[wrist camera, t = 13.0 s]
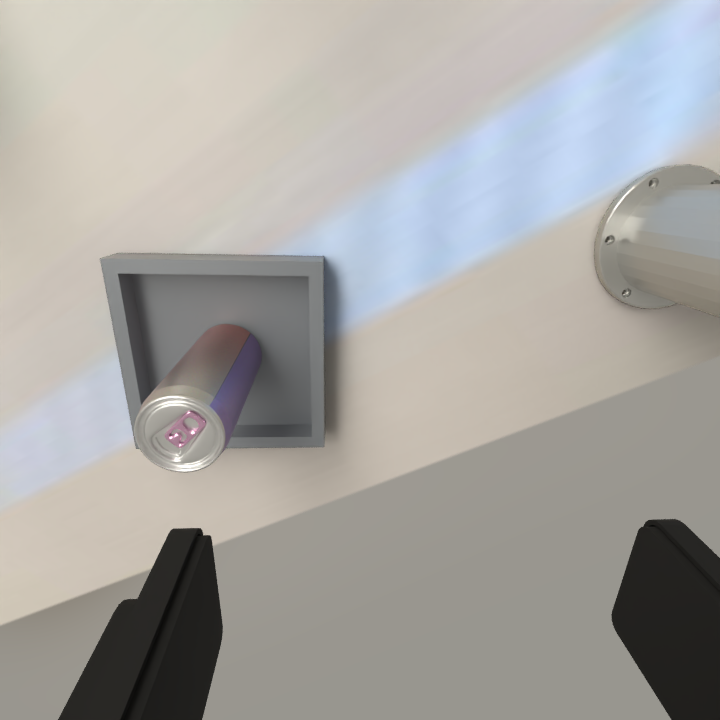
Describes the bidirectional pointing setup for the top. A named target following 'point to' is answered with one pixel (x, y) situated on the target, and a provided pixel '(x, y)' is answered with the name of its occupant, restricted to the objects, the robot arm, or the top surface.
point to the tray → (227, 306)
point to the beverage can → (199, 401)
